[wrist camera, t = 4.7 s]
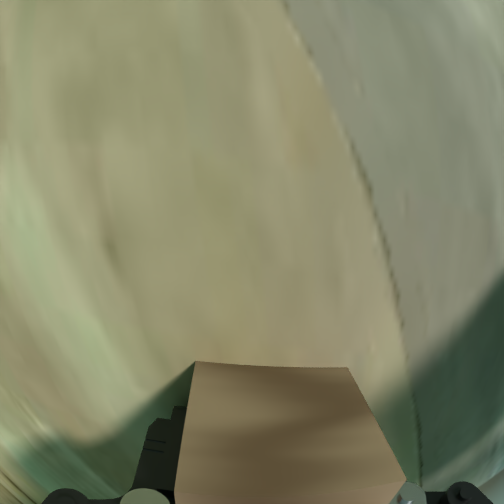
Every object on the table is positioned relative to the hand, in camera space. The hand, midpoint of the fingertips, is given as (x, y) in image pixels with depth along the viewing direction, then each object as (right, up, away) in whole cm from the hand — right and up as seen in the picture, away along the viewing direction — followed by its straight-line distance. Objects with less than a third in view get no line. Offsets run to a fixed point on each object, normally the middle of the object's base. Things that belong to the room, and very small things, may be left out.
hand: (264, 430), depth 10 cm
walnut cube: (0, 0, 0) cm, 0 cm away
